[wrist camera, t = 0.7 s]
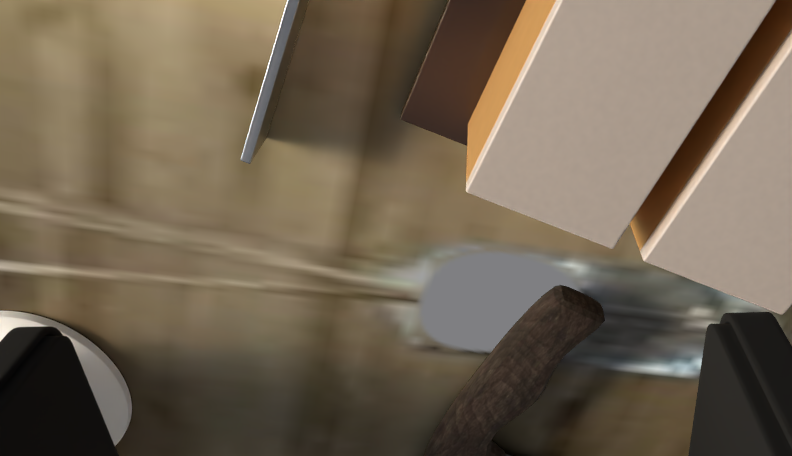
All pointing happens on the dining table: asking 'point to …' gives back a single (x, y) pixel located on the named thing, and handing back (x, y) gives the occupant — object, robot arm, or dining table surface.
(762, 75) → the cake
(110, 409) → the decorative vase
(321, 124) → the dining table surface
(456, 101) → the cake board
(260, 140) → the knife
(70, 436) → the robot arm
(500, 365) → the cleaver
